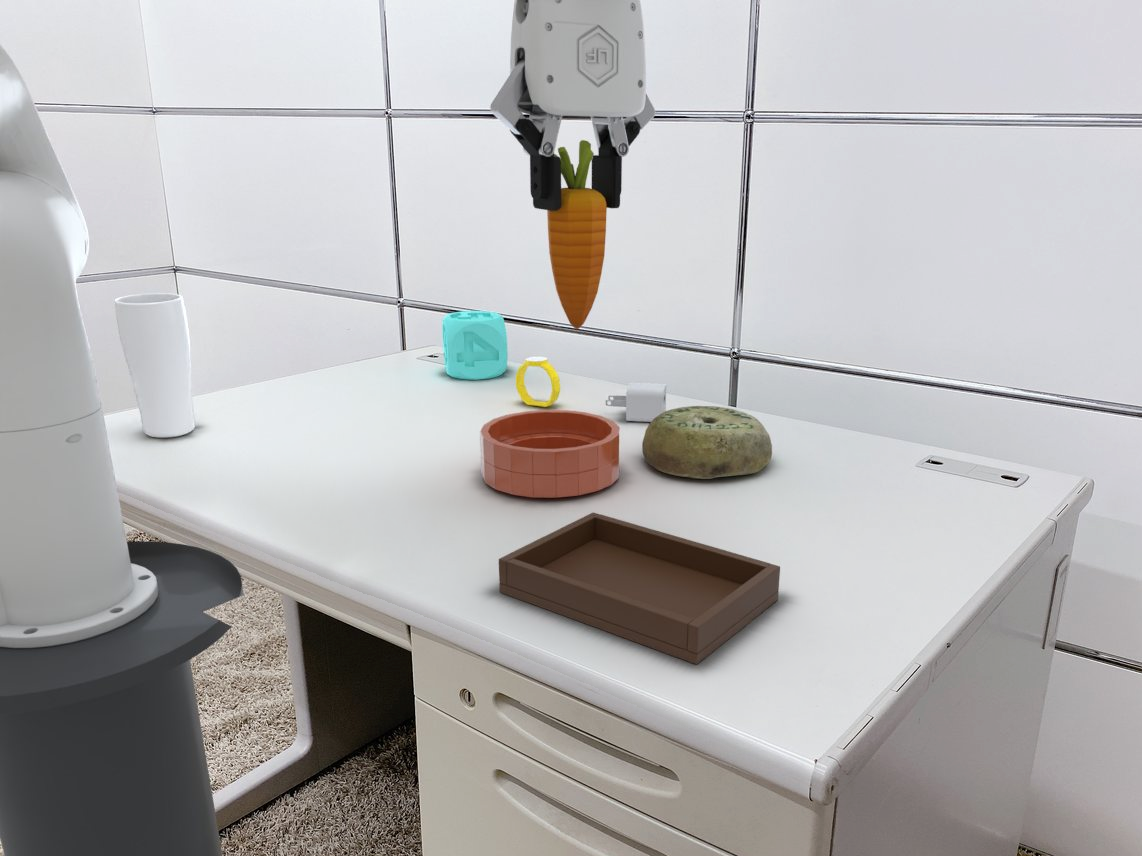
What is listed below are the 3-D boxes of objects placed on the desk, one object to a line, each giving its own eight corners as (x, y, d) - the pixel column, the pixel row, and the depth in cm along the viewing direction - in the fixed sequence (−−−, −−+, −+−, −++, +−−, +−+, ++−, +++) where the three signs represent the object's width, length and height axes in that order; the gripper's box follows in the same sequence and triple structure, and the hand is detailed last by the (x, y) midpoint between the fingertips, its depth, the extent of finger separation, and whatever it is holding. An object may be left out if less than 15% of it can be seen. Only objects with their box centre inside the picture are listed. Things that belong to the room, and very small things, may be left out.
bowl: (525, 512, 89) (524, 460, 87) (459, 470, 99) (456, 423, 97) (646, 483, 96) (646, 435, 95) (572, 447, 107) (572, 403, 105)
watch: (564, 406, 121) (564, 359, 119) (551, 411, 119) (550, 364, 117) (526, 399, 124) (525, 353, 122) (512, 404, 122) (511, 357, 120)
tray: (499, 592, 74) (498, 558, 73) (593, 542, 83) (592, 511, 82) (696, 664, 64) (698, 627, 64) (778, 599, 73) (780, 566, 72)
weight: (778, 448, 107) (781, 404, 106) (760, 490, 95) (763, 441, 93) (659, 436, 111) (660, 394, 109) (627, 475, 98) (627, 428, 97)
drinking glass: (128, 431, 110) (104, 297, 104) (190, 419, 114) (170, 290, 109) (148, 445, 105) (124, 306, 100) (212, 433, 109) (192, 299, 104)
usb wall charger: (662, 424, 115) (663, 391, 114) (604, 421, 116) (604, 388, 114) (665, 414, 119) (666, 382, 117) (609, 411, 120) (609, 380, 118)
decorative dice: (508, 378, 134) (506, 320, 131) (449, 381, 132) (446, 322, 129) (500, 364, 141) (498, 309, 139) (444, 367, 139) (440, 311, 136)
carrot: (565, 337, 79) (564, 140, 74) (536, 326, 83) (533, 139, 78) (617, 331, 82) (620, 141, 76) (587, 321, 85) (587, 139, 80)
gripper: (501, -67, 65) (508, 216, 71) (697, -38, 75) (687, 208, 81) (449, -53, 70) (460, 208, 77) (637, -28, 80) (633, 201, 86)
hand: (576, 205), depth 79 cm, fingers closed on carrot, 5 cm apart
